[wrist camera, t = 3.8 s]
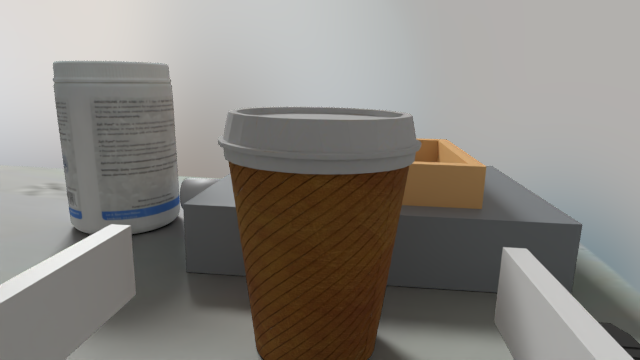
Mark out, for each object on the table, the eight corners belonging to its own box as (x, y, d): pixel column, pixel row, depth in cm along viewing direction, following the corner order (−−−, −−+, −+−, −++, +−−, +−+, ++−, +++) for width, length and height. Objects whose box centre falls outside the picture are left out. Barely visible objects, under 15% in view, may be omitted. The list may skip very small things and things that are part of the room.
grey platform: (132, 268, 31) (124, 158, 30) (221, 197, 51) (220, 129, 49) (570, 297, 28) (589, 178, 27) (487, 211, 48) (495, 138, 46)
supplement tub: (195, 210, 46) (189, 65, 43) (151, 242, 37) (140, 60, 33) (108, 205, 47) (95, 63, 44) (44, 235, 37) (22, 58, 34)
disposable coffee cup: (395, 425, 17) (416, 125, 15) (186, 377, 20) (172, 113, 17) (413, 310, 26) (428, 110, 24) (266, 287, 29) (266, 104, 26)
